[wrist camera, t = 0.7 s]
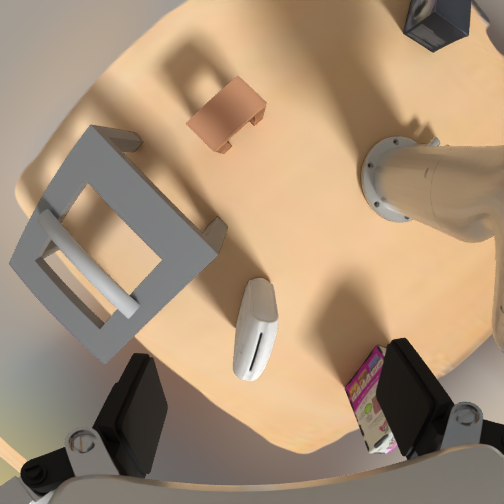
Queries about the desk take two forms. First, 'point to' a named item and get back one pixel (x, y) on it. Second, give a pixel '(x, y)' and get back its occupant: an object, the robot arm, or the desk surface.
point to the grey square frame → (136, 217)
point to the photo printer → (255, 329)
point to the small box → (438, 22)
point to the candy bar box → (370, 404)
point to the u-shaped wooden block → (227, 114)
